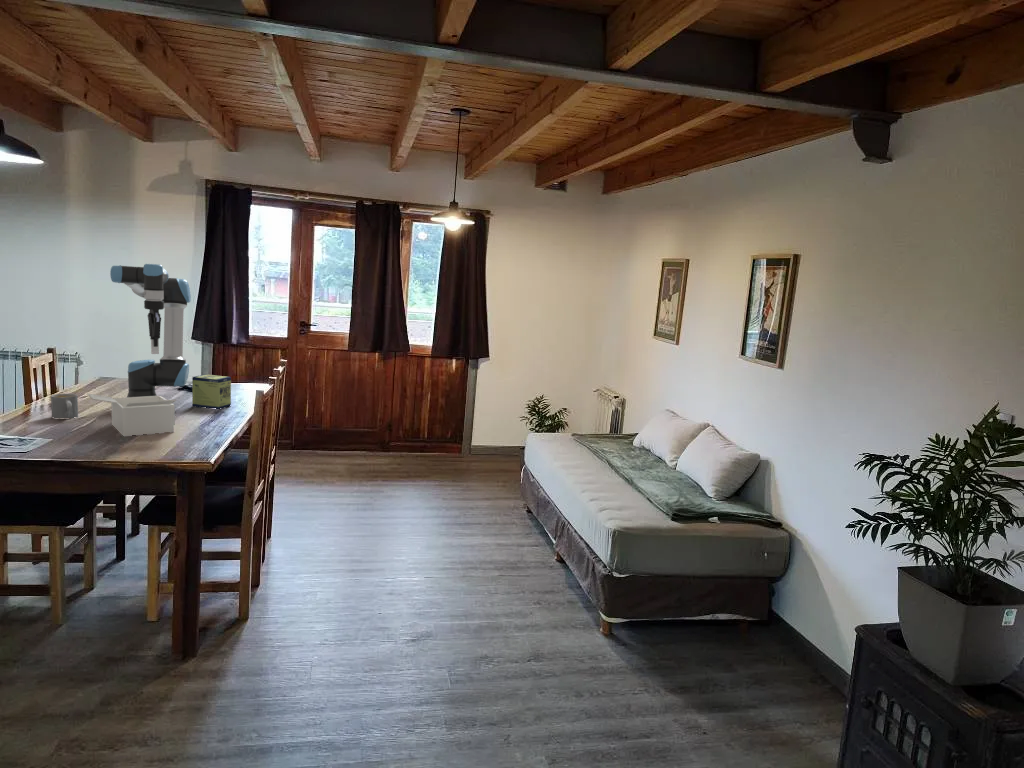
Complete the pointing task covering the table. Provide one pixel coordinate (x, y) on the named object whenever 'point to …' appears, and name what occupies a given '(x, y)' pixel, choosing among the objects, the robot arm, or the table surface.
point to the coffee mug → (64, 405)
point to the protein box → (211, 391)
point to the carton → (142, 416)
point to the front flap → (150, 402)
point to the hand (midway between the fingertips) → (155, 353)
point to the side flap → (102, 398)
